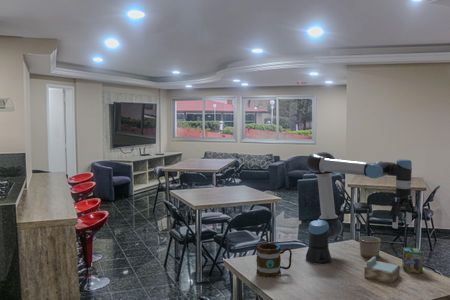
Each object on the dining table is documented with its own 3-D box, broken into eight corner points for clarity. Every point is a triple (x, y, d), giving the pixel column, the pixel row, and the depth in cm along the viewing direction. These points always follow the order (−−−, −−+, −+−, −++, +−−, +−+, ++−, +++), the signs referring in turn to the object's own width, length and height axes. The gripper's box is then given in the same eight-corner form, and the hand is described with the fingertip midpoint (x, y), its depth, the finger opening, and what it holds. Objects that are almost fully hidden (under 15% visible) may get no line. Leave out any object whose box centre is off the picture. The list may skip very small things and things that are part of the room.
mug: (257, 277, 207) (256, 250, 206) (255, 268, 221) (255, 242, 220) (293, 277, 207) (293, 250, 206) (290, 268, 220) (290, 242, 219)
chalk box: (422, 273, 211) (423, 247, 210) (404, 272, 214) (404, 245, 213) (419, 267, 220) (419, 242, 219) (401, 266, 223) (402, 241, 222)
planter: (357, 251, 249) (357, 235, 248) (377, 252, 247) (377, 236, 246) (361, 258, 236) (361, 241, 236) (382, 259, 235) (383, 242, 234)
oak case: (364, 277, 207) (364, 267, 207) (373, 269, 218) (373, 260, 217) (391, 283, 198) (391, 273, 198) (399, 275, 209) (399, 265, 208)
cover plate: (366, 269, 207) (366, 261, 207) (373, 263, 216) (373, 256, 216) (391, 275, 199) (391, 267, 199) (398, 268, 208) (398, 261, 208)
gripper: (396, 191, 200) (395, 231, 202) (422, 186, 215) (420, 224, 216) (383, 189, 206) (382, 228, 208) (409, 184, 221) (407, 221, 222)
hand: (401, 226), depth 212 cm, fingers open, 13 cm apart
